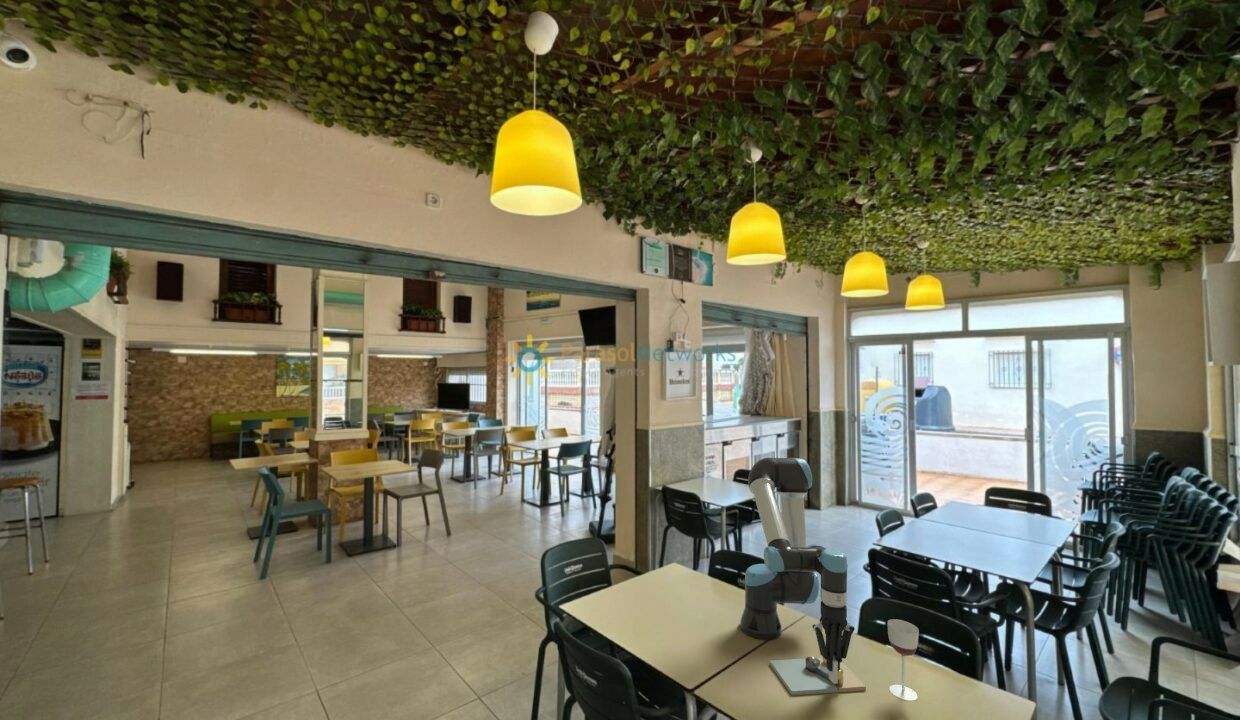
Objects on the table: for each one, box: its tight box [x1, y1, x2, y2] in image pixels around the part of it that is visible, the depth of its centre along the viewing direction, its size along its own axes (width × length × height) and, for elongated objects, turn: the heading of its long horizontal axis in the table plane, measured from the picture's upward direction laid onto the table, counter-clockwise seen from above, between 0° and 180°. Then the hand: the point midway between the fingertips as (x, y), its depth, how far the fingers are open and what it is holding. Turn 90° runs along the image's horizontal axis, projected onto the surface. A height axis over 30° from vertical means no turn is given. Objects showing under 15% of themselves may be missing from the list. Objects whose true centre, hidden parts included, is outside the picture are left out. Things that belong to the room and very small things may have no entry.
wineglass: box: [887, 618, 920, 702], centre depth 151 cm, size 8×9×20 cm
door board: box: [769, 657, 867, 696], centre depth 158 cm, size 16×24×1 cm, turn 97°
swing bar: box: [804, 656, 843, 686], centre depth 156 cm, size 13×4×4 cm, turn 34°
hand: (833, 680), depth 151 cm, fingers closed
